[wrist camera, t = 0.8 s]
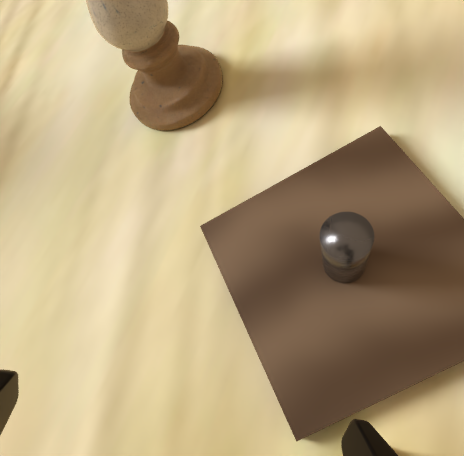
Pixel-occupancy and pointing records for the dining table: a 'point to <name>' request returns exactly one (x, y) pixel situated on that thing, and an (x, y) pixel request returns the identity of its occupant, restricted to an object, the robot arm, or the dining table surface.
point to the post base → (345, 319)
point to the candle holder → (158, 62)
